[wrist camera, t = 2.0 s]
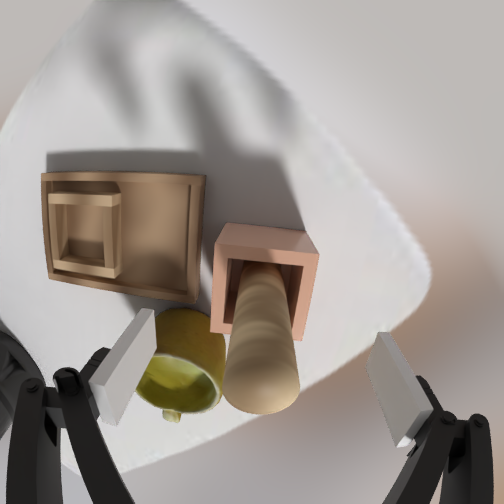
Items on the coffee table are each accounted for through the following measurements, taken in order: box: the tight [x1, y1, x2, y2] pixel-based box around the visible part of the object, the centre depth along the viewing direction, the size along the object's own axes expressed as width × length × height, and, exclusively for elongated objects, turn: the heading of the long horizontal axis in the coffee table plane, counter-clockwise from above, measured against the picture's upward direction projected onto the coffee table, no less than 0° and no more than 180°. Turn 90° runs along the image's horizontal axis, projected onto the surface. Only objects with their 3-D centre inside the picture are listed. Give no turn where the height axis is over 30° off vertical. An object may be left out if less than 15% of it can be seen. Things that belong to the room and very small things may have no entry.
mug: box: [135, 308, 226, 423], centre depth 29 cm, size 12×10×10 cm
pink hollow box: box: [210, 222, 319, 341], centre depth 25 cm, size 8×8×7 cm
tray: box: [41, 171, 206, 304], centre depth 27 cm, size 18×12×3 cm, turn 84°
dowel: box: [222, 260, 300, 414], centre depth 20 cm, size 4×4×16 cm
